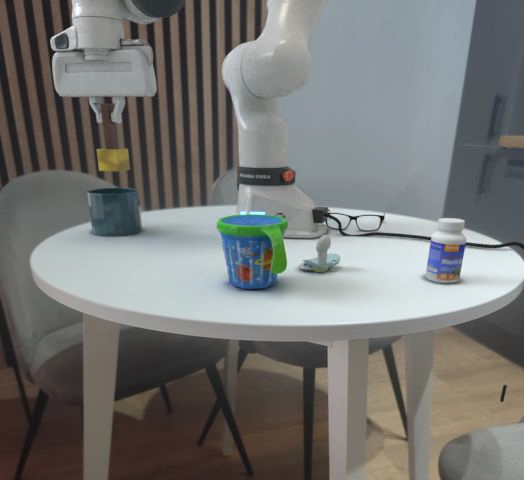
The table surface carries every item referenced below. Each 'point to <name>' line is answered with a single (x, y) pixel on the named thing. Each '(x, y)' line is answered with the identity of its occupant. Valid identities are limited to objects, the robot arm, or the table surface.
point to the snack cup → (253, 249)
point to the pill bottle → (446, 251)
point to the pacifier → (321, 257)
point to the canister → (115, 211)
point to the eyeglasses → (356, 221)
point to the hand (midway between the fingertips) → (109, 123)
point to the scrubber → (111, 145)
